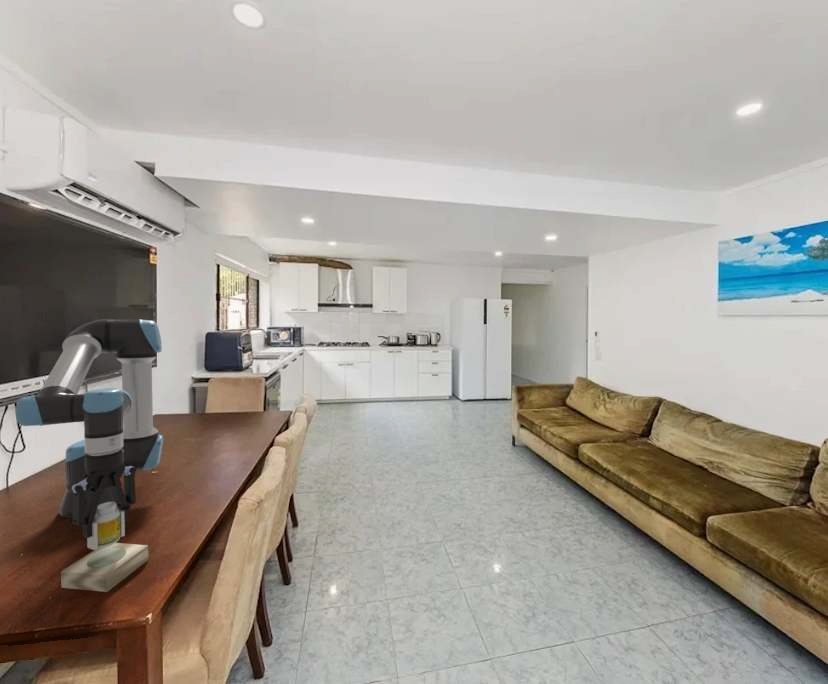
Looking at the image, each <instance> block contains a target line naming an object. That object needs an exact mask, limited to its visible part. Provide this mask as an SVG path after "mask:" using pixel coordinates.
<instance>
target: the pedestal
mask: <svg viewBox="0 0 828 684" xmlns="http://www.w3.org/2000/svg"><path fill="white" fill-rule="evenodd" d="M148 561H149V545H148V544H137V543H136V544H135V543H121V542H116V543H115V544H113V545H110V546H107V547H103V548H98V549H96V550H93V551H91V552H89V553H88V554H87V555H85V556H83V557H82V558H80V559H78V560H77V561H75V562H74V563H72V564H71V565H68V566H67V567H66V568H64V569H63V570H61V571H60V583H61V585H60V586H61V589H62V588H63V589H71V590H72V589H73V590H83V591H94V592H101V593H102V592H103V593H107V592H109V591H111V589H113V588H115V587H116V585H118V584H120V583H121V582H122V581H123V580H125V579H126V578H127V577H129V575H131V574H132V573H134V572H135V571H136V570H137V569H139V568H140V567H142V565H144V564H145V563H147V562H148Z"/></svg>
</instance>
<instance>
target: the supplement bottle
mask: <svg viewBox="0 0 828 684" xmlns="http://www.w3.org/2000/svg"><path fill="white" fill-rule="evenodd" d="M94 522H97V530H98V548H103V547H107V546H110V545H113V544H115V543H118V541H120V538H121V537H120V512H119V511H118V510H117V504H116V502H107V503H103V504H100V505H98V507H97V511H96V514H95V518H94Z"/></svg>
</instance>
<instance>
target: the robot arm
mask: <svg viewBox="0 0 828 684" xmlns="http://www.w3.org/2000/svg"><path fill="white" fill-rule="evenodd" d="M161 337H162V336H161V333H160V329H159V326H158V323H156V321H154V320H149V319H148V320H147V319H107V318H106V319H103V318H102V319H96V320H93V321H90V322H87V323H85V324H82V325H80V326H79V327H77V328H76V329H74V330H73V331H71V332H70V333H69V334H68V335H67V336H66V337H65V339H64V340H63V342H62V344H61V347H62V352H61V354H60V355H59V358H58V359H57V360H56V363H55V365H54V366H53V368H52V369H51V371H50V373H49V374H48V377H47V378H46V380H45V381H44V383H43V385H42V386H41V389H40V390H39V392H38V393H37V395H34V394H32V395H29V396H23V397H21V398H20V399H19V400H18V401H17V403H16V407H15V418H16V421H17V423H18V424H19V425H20V426H22V427H31V426H32V427H33V426H34V427H35V426H40V427H42V426H49V425H50V426H51V425H60V424H68V423H70V424H71V423H83V427H84V430H83V431H84V437H83V440H79V441H77V442H75V443H72V444H71V445H69V446H68V447H67V448H66V449H65V459H64V463H65V492H64V495H63V498H62V500H61V503H60V505H59V508H58V509H59V510H58V511H59V516H60V517H62V518H64V519H65V518H66V519H72V521H71V522H72V524H73V525H76V526H78V527H82V536H83V538H86V540H87V542H86V543H87V544H86V545H87V549H90V550H93V551H94V550H96V549H98V530H97V522H94V518H95V515H96V511H97V507H98V505H100V504H103V503H107V502H116V510H118V511H119V512H120V538H122V537H125V536H126V535H125V534H126V533H125V532H126V529H125V528H126V525H125V524H126V523H125V522H127V521H128V518H129V517H128V516H129V515H128V514H129V513H128V512H129V510H131V506H133V505H135V504H136V502H137V498H136V495H137V494H136V481H135V479H136V478H135V476H136V472H139V471H142V472H143V471H145V470H150V469H155V468H156V467H157V466H159V463H160V460H161V457H162V450H163V442H164V436H163V435H162V434H159V430H158V429H157V428H156V427H154V420H153V419H154V416H153V413H154V411H153V410H154V409H153V365H152V364H153V361H155V360H156V358H157V354H158V353H161V352H162V350H163V349H162V339H161ZM101 354H115V359H116V360H117V361H119V362H120V363H121V381H122V382H121V385H122V387H121V388H122V389H120V388H117V387H116V388H115V387H114V388H113V387H112V388H98V389H92V390H91V389H90V390H88V391H86V392H83V393H82V392H81V393H79V391H80V390H81V387H82V385H83V383H84V381H85V378H86V376H87V374H88V373H89V370H90V368H91V366H92V364H93V362H94V360H95V359H96V358H98V357H99V356H100V355H101ZM122 475H123V484H122V482H121V481H122V480H121V478H122ZM122 486H123V488H124V490H123V488H122Z"/></svg>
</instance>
